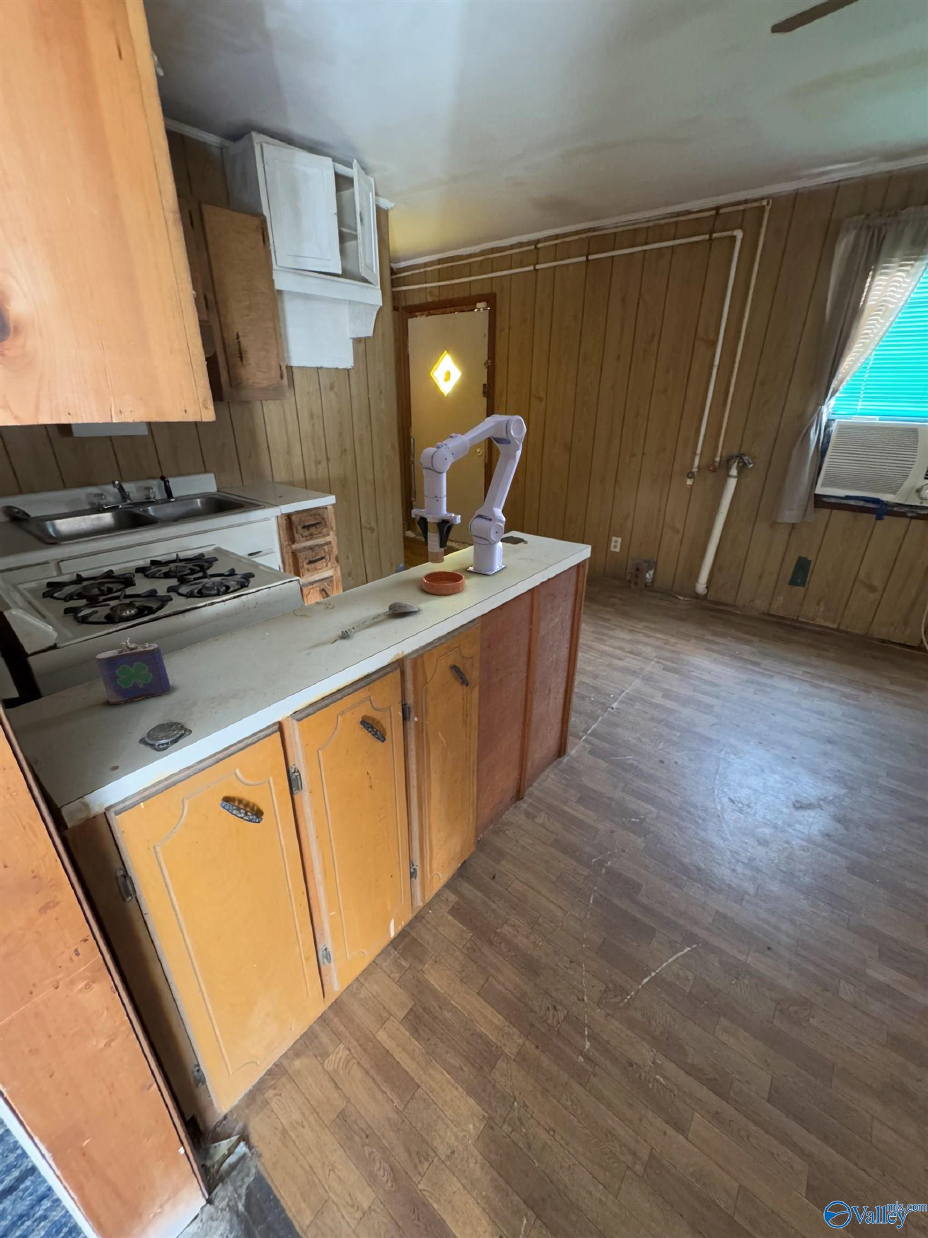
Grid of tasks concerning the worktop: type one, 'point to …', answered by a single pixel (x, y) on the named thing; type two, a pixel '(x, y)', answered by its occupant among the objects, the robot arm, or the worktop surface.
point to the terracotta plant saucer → (443, 582)
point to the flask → (133, 672)
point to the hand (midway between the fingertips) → (435, 546)
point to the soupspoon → (393, 608)
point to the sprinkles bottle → (434, 541)
